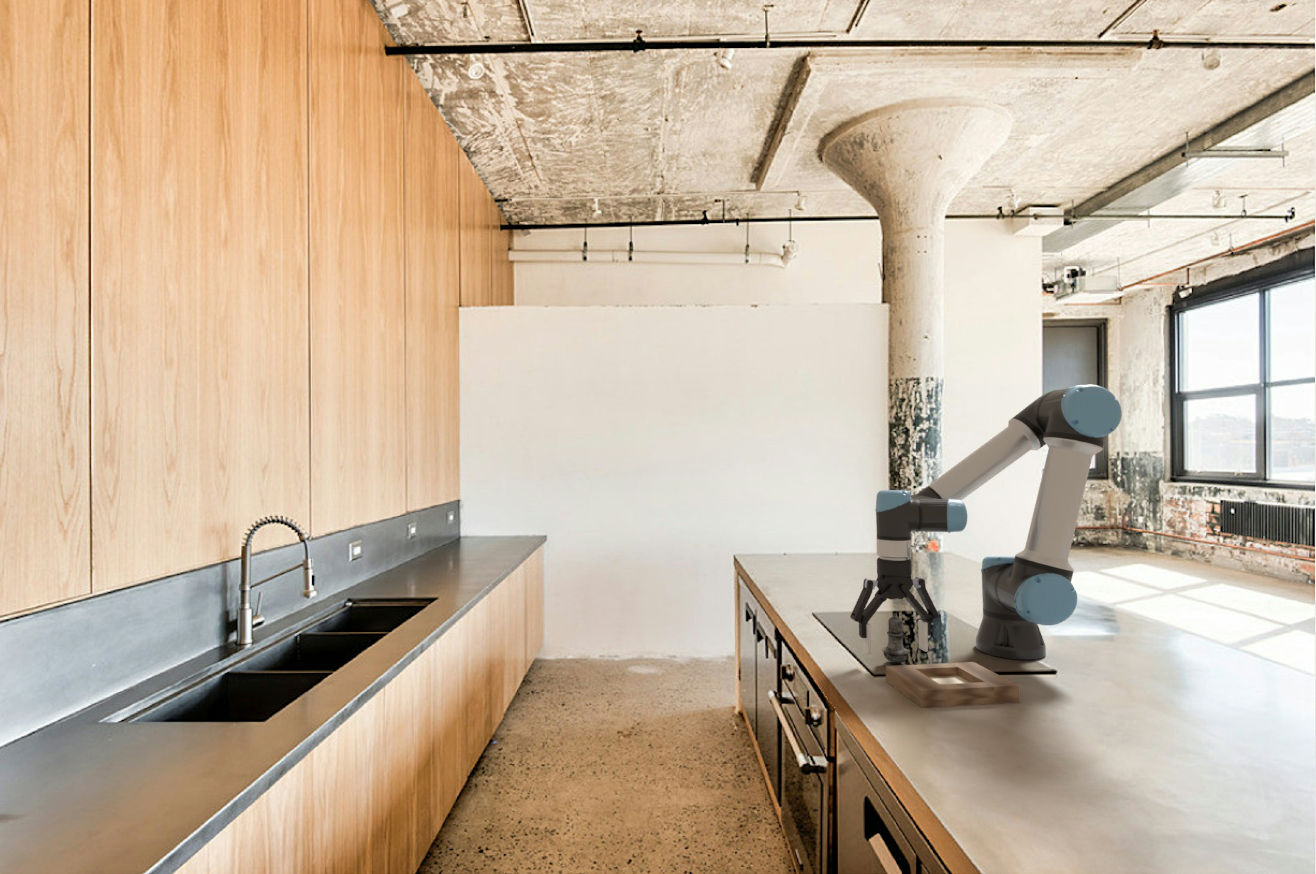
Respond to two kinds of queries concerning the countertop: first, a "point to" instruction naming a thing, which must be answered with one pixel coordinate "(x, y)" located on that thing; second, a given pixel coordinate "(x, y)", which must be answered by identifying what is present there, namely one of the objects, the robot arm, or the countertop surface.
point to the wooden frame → (951, 684)
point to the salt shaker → (895, 644)
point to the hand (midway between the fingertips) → (895, 651)
